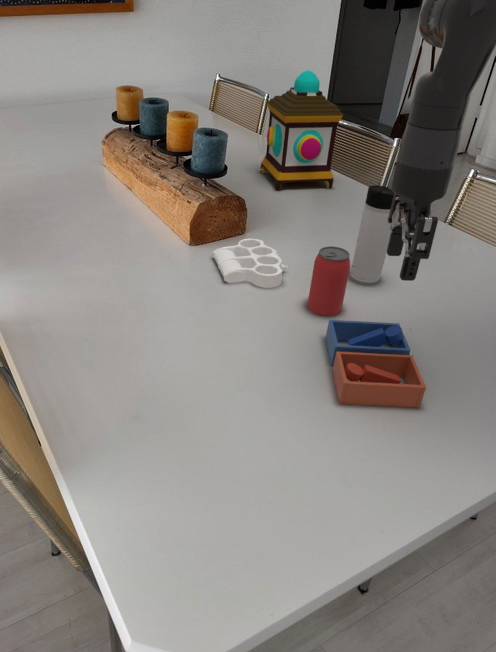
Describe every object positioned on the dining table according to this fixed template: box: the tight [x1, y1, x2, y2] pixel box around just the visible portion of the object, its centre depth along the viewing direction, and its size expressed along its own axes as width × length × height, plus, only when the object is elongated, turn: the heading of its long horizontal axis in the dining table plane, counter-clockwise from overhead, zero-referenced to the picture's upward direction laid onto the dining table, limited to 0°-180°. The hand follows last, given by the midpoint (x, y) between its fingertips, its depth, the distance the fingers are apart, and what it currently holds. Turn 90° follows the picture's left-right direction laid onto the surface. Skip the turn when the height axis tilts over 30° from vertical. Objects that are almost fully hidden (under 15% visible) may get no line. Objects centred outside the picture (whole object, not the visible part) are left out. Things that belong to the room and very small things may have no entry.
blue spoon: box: [347, 325, 405, 347], centre depth 92 cm, size 9×3×2 cm, turn 88°
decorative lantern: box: [260, 69, 344, 192], centre depth 156 cm, size 20×20×30 cm
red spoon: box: [344, 363, 402, 384], centre depth 84 cm, size 9×3×2 cm, turn 89°
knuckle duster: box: [212, 238, 289, 289], centre depth 117 cm, size 3×18×15 cm
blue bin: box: [324, 319, 411, 367], centre depth 92 cm, size 12×8×4 cm
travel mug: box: [349, 185, 394, 286], centre depth 110 cm, size 6×7×20 cm
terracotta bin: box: [331, 351, 427, 409], centre depth 85 cm, size 12×8×4 cm
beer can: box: [307, 246, 351, 317], centre depth 102 cm, size 7×7×12 cm
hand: (399, 266), depth 85 cm, fingers open, 8 cm apart
